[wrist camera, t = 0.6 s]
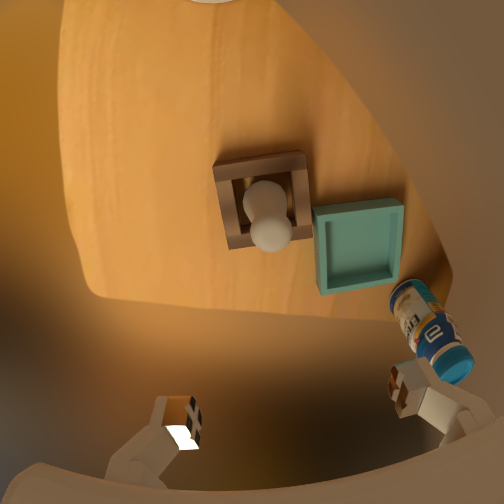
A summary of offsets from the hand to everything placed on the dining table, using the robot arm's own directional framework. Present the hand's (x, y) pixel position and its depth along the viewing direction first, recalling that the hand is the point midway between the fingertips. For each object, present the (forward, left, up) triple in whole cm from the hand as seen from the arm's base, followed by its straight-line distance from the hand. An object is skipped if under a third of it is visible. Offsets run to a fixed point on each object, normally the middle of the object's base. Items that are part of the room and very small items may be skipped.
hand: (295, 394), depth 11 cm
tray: (+12, +13, -33) cm, 37 cm away
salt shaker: (+3, 0, -33) cm, 33 cm away
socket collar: (+3, 0, -33) cm, 33 cm away
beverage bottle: (+25, +24, -33) cm, 48 cm away
